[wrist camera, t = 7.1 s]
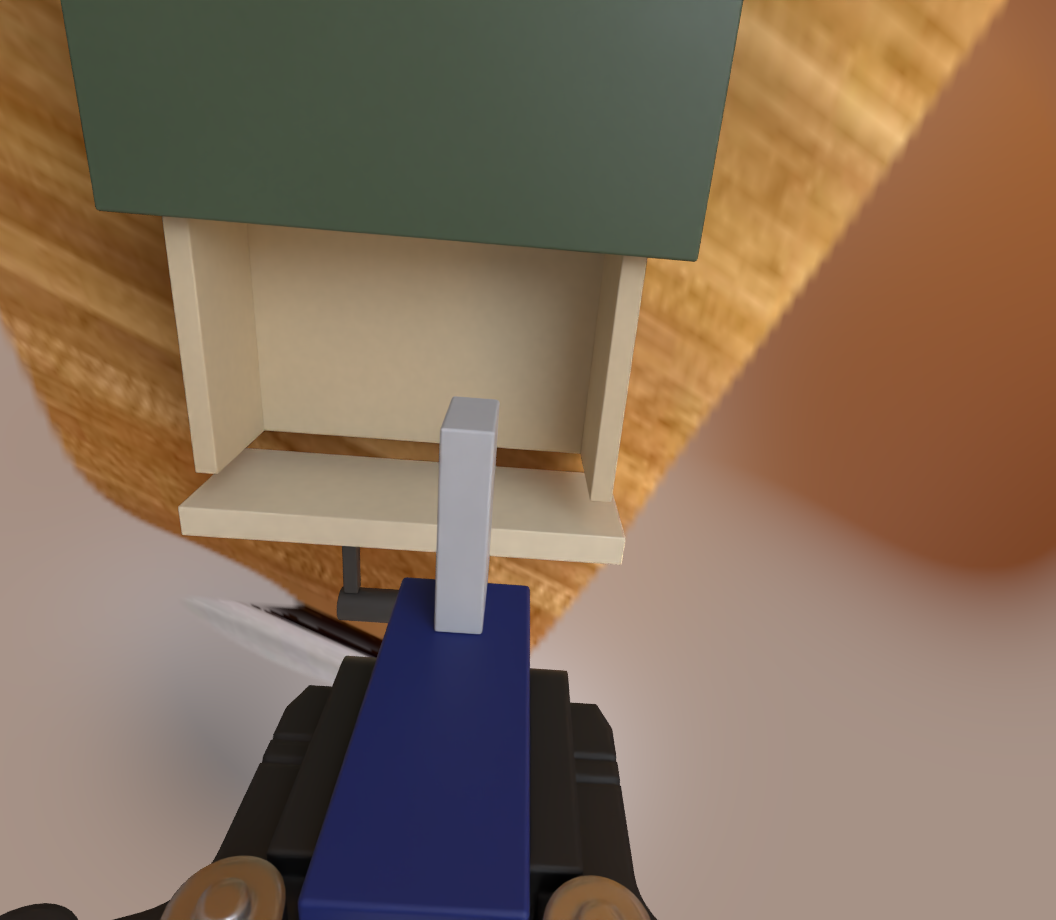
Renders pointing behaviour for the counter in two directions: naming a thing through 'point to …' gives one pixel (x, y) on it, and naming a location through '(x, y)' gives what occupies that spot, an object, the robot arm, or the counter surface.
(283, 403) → the drawer
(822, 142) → the counter surface
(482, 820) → the blue block with post
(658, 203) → the cabinet
